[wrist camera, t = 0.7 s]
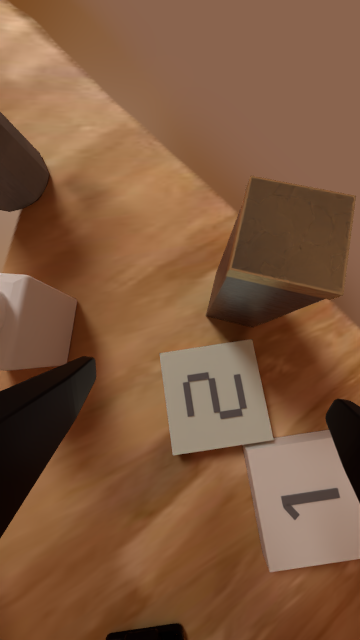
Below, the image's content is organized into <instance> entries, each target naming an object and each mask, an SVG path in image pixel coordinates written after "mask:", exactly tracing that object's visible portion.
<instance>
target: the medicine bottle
mask: <svg viewBox="0 0 360 640" xmlns="http://www.w3.org/2000/svg"><path fill="white" fill-rule="evenodd" d="M76 305H77V300H76V299H75V298H73V297H71V296H69V295H67V294H65V293H63V292H61V291H59V290H57V289H55V288H53V287H51V286H49V285H47V284H45V283H43V282H41V281H39V280H37V279H35V278H33V277H31V276H29V275H22V274H6V273H0V370H5V371H9V370H19V369H30V368H40V367H51V366H61V365H64V364H66V363H67V359H68V353H69V347H70V341H71V335H72V329H73V323H74V317H75V311H76Z"/></svg>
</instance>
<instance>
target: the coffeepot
mask: <svg viewBox="0 0 360 640" xmlns="http://www.w3.org/2000/svg"><path fill="white" fill-rule="evenodd" d="M48 177H49V173H48V170H47V167H46V165H45V163H44V162H43V159H42V157H41V155H40V153H39V152H38V151H37V150H36V149H35V148H34V147H33V146H32V145H31V144H30V142H29V141H28V140H27V139H26V138H25V137H24V136H23V135H22V134H21V133H20V132H19V131H18V130H17V129H16V128H15V127H14V126H13V125H12V124H11V123H10V122H9V120H8V119H7V118H6V117H5V116H4V115H3V114H2V113H1V112H0V210H3V211H8V212H10V211H15V210H19V209H22V208H25V207H27V206H29V205H31V204H32V203H33V202H35V201H36V200H37V199H38V198H39V197H40V196H41V195H42V193H43V192H44V190H45V188H46V185H47V182H48Z"/></svg>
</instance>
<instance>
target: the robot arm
mask: <svg viewBox="0 0 360 640" xmlns="http://www.w3.org/2000/svg"><path fill="white" fill-rule="evenodd" d="M95 379H96V363H95V359H94V358H93V357H87V356H83V357H80V358H78V359H75V360H73V361H71V362H68V363H66V364H64V365H61V366H59V367H57V368H54V369H52V370H49V371H47V372H45V373H42V374H40V375H38V376H35V377H33V378H31V379H28V380H26V381H24V382H21V383H19V384H17V385H14V386H12V387H9V388H7V389H5V390H2V391H0V538H1V536H2V535H3V533H4V532H5V530H6V528H7V527H8V525H9V524H10V522H11V521H12V519H13V517H14V516H15V514H16V513H17V511H18V510H19V508H20V506H21V505H22V503H23V502H24V500H25V498H26V497H27V495H28V494H29V492H30V491H31V489H32V487H33V486H34V484H35V483H36V481H37V479H38V478H39V476H40V475H41V473H42V472H43V470H44V468H45V467H46V465H47V464H48V462H49V460H50V459H51V457H52V456H53V454H54V453H55V451H56V449H57V448H58V446H59V445H60V443H61V441H62V440H63V438H64V437H65V435H66V434H67V432H68V430H69V429H70V427H71V426H72V424H73V422H74V421H75V419H76V417H77V415H78V414H79V412H80V410H81V408H82V406H83V404H84V402H85V400H86V398H87V396H88V394H89V392H90V390H91V388H92V386H93V384H94V382H95ZM326 423H327V425H328V428H329V431H330V433H331V436H332V439H333V442H334V444H335V447H336V450H337V453H338V455H339V458H340V461H341V463H342V466H343V468H344V470H345V473H346V475H347V477H348V479H349V481H350V484H351V486H352V488H353V490H354V492H355V494H356V496H357V499H358V501H359V503H360V407H359V406H358V405H356V404H355V403H353V402H351V401H349V400H344V399H336V400H334V402H333V403H332V405H331V407H330V408H329V410H328V412H327V413H326ZM176 634H178V635H176ZM106 640H184V636H183V629H182V627H181V625H180V624H169V625H162V626H156V627H149V628H142V629H135V630H129V631H122V632H115V633H110V634H108V635H107V637H106Z"/></svg>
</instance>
